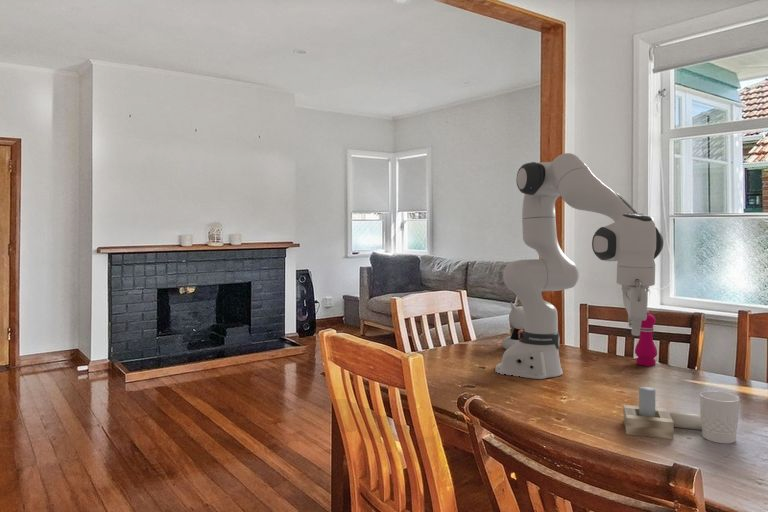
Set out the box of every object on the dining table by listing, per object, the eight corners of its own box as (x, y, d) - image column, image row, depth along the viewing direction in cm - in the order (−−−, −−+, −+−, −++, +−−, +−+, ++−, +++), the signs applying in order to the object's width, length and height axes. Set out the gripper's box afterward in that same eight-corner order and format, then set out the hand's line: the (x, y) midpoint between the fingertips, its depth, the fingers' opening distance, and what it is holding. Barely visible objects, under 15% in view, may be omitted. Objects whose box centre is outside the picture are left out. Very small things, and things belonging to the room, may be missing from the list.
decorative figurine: (532, 345, 226) (532, 298, 225) (544, 353, 211) (544, 303, 210) (498, 346, 225) (497, 299, 224) (508, 354, 211) (507, 304, 210)
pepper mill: (659, 366, 188) (660, 310, 187) (637, 366, 190) (638, 310, 189) (653, 361, 195) (654, 307, 194) (632, 361, 197) (632, 307, 196)
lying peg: (667, 409, 133) (665, 415, 136) (668, 422, 131) (667, 428, 134) (713, 413, 130) (710, 419, 132) (715, 427, 128) (713, 433, 130)
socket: (626, 434, 128) (626, 417, 128) (623, 420, 138) (623, 404, 137) (673, 439, 125) (673, 422, 125) (666, 424, 134) (666, 408, 134)
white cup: (691, 432, 129) (692, 391, 128) (722, 431, 129) (723, 390, 129) (714, 445, 121) (715, 402, 120) (747, 444, 121) (748, 400, 121)
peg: (639, 430, 130) (639, 390, 130) (638, 425, 134) (638, 386, 133) (656, 432, 129) (656, 391, 128) (654, 427, 132) (654, 387, 132)
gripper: (654, 283, 125) (652, 341, 126) (644, 273, 144) (643, 323, 145) (625, 282, 127) (623, 339, 128) (619, 272, 146) (617, 322, 147)
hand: (633, 330), depth 137 cm, fingers open, 8 cm apart
